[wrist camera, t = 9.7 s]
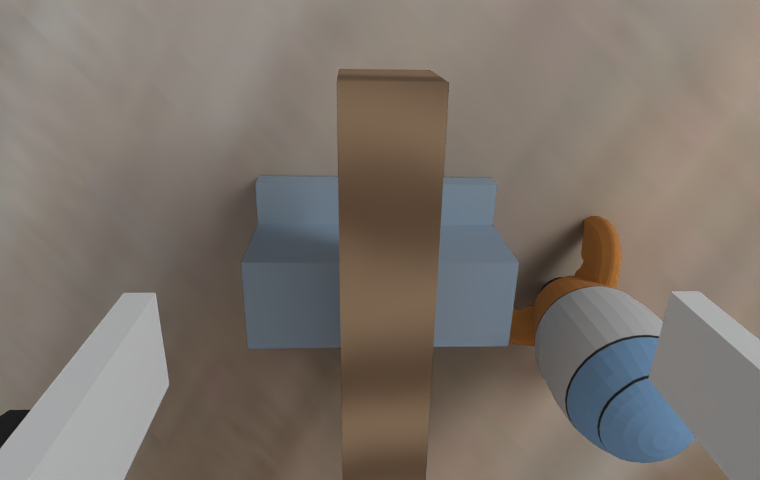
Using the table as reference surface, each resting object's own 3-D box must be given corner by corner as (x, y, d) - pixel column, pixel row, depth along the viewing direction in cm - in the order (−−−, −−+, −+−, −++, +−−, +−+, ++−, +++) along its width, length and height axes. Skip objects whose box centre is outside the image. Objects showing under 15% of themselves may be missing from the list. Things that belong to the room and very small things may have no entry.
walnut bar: (339, 69, 24) (336, 81, 19) (429, 70, 24) (448, 82, 20) (344, 485, 33) (344, 562, 28) (410, 483, 33) (420, 559, 29)
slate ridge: (259, 175, 33) (237, 215, 26) (490, 177, 34) (525, 216, 27) (267, 321, 36) (250, 387, 30) (476, 320, 37) (503, 384, 31)
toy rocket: (456, 324, 39) (497, 436, 24) (519, 184, 37) (606, 211, 22) (588, 377, 39) (709, 518, 24) (657, 241, 37) (832, 305, 23)
